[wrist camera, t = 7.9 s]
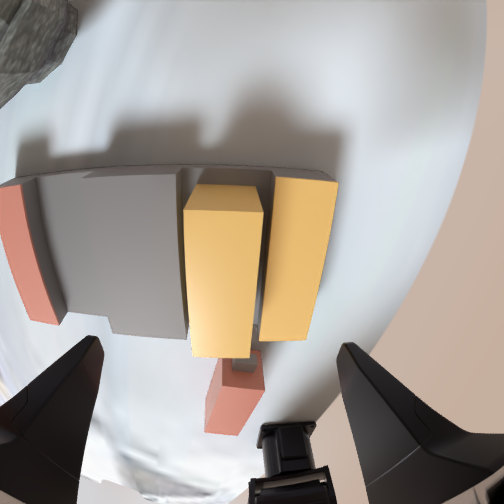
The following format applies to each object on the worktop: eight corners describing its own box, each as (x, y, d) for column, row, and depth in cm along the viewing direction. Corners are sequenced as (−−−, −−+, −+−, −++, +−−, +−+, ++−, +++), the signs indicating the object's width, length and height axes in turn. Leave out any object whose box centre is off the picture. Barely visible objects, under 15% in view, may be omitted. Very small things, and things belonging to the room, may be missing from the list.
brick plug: (236, 401, 25) (237, 435, 21) (205, 397, 24) (204, 432, 21) (263, 341, 21) (269, 382, 17) (225, 335, 20) (225, 377, 17)
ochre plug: (196, 184, 14) (183, 209, 10) (255, 186, 14) (263, 212, 11) (199, 321, 18) (194, 368, 14) (244, 322, 18) (248, 369, 15)
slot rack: (298, 314, 19) (305, 340, 17) (45, 299, 18) (30, 319, 15) (322, 171, 15) (338, 182, 13) (14, 177, 13) (-9, 189, 11)
